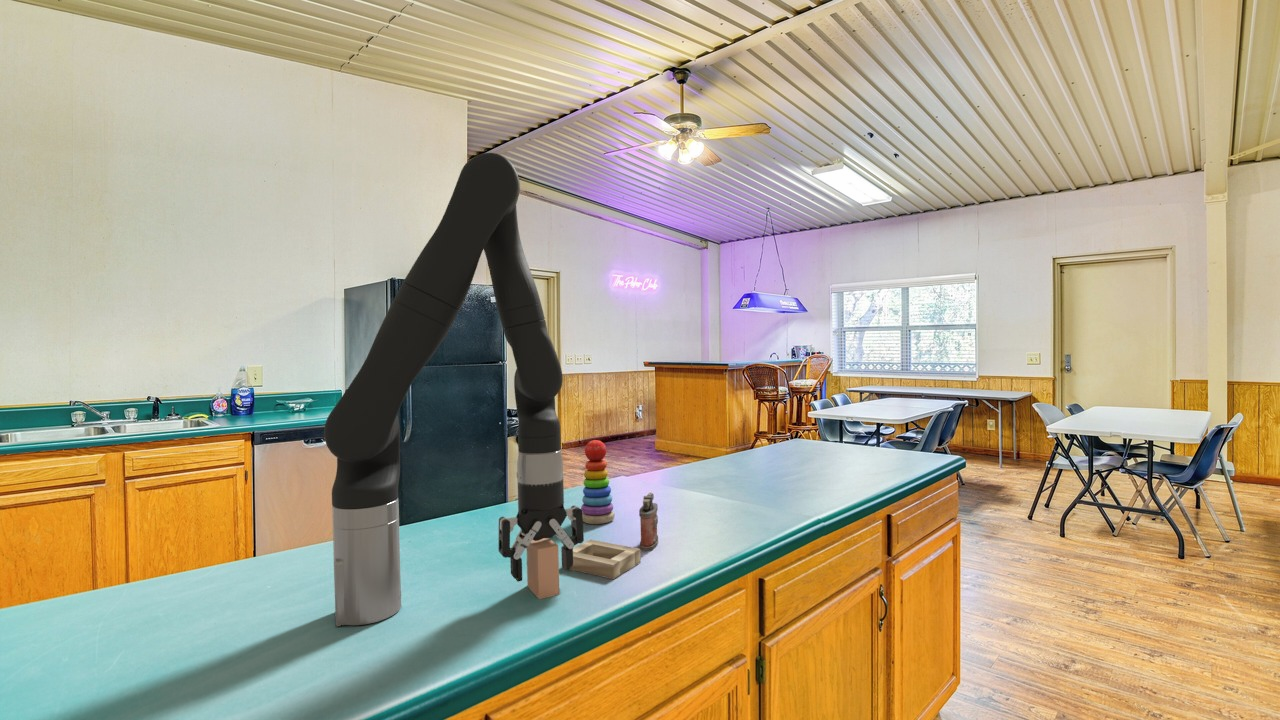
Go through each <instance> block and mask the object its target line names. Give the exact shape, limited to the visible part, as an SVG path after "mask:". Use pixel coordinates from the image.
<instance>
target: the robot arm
mask: <svg viewBox="0 0 1280 720" xmlns="http://www.w3.org/2000/svg"><path fill="white" fill-rule="evenodd" d="M457 178H458V179H457V182H456V183H455V187H454V189H453V191H452V194H451V197H450V199H449V202H448V204H447V206H446V209H445V211H444V213H443V216H442V218H441V220H440V222H439V224H438V225H437V226H436V229H435V231H434V232H433V234H432V235H431V237H430V238H429V240H428V241H427V242H426V244H425V246H424V247H423V249H422V250H421V252H420V253H419V255H418V256H417V258H416V260H415V261H414V263H413V265H412V266H411V268H410V270H409V271H408V273H407V275H406V277H405V278H404V280H403V282H402V283H401V285H400V287H399V288H398V291H397V292H396V295H395V297H394V298H393V300H392V302H391V303H390V306H389V309H388V311H387V312H386V315H385V317H384V319H383V320H382V323H381V325H380V327H379V329H378V331H377V333H376V336H375V338H374V340H373V343H372V345H371V347H370V350H369V352H368V354H367V356H366V358H365V360H364V361H363V364H362V366H361V367H360V369H359V370H358V373H357V374H356V375H355V377H353V380H352V381H351V383H350V384H349V386H348V387H347V388H346V390H345V392H344V393H343V394H342V396H341V397H340V399H339V400H338V402H337V403H336V405H334V407H333V409H332V410H331V411H330V413H329V414H328V417H327V418H326V421H325V424H324V432H323V433H324V435H323V436H324V441H325V444H326V446H327V447H326V448H328V451H330V453H331V454H332V455H333V456H334V457H336V463H337V464H336V474H335V478H334V482H333V485H332V488H331V506H332V508H331V509H332V537H333V538H332V541H333V542H332V543H333V552H332V553H333V581H334V583H333V585H334V612H335V613H334V615H335V619H334V620H335V627H341V625H342V626H361V625H369V624H373V623H377V622H381V621H384V620H386V619H389V618H390V617H392V616H394V615H395V614H397V613H398V612H399V611H400V610H401V608H402V582H401V581H402V580H401V578H402V577H401V575H402V574H401V549H400V548H401V546H400V545H401V544H400V543H401V542H400V514H399V513H400V512H399V511H400V509H399V506H400V505H399V483H400V477H401V476H400V475H401V440H400V439H401V436H400V435H401V432H400V421H399V416H398V414H399V411H400V409H401V407H402V404H403V402H404V401H405V398H406V395H407V393H408V391H409V390H410V387H411V386H412V384H413V382H414V381H415V380H416V378H417V377H418V375H419V374H420V372H421V371H422V370H423V368H424V367H425V366H426V365H427V363H428V362H429V361H430V359H431V358H432V357H433V355H435V353H436V351H437V350H438V349H439V347H440V346H441V345H442V343H443V341H444V340H445V338H446V336H447V335H448V333H449V331H450V330H451V327H453V324H454V322H455V320H456V318H457V317H458V314H459V312H460V310H461V308H462V306H463V305H464V301H465V300H466V298H467V296H468V292H469V290H470V288H471V285H472V282H473V279H474V277H475V274H476V270H477V268H478V265H479V261H480V259H481V256H482V253H483V251H484V254H485V258H486V262H487V266H488V269H489V274H490V279H491V283H492V290H493V294H494V295H493V296H494V299H495V304H496V308H497V311H498V316H499V320H500V323H501V327H502V331H503V334H504V337H505V339H506V342H507V344H508V345H509V346H510V349H511V351H512V355H513V358H514V362H515V366H516V369H515V372H514V375H513V386H514V387H513V388H514V390H513V391H514V399H515V407H516V412H517V419H518V420H517V421H518V426H517V447H518V453H517V454H518V456H517V464H516V465H517V466H516V468H517V469H516V479H517V508H518V512H517V514H516V516H515V517H506V516H500V517H499V519H498V552H499V554H500V555H501V556H502V557H503V558H510V574H511V577H512V578H513V579H515V581H516V582H517V583H518V582H521V581H523V558H522V555H523V554H524V552H525V550H527V547H528V546H529V544H530V543H531V541H532V540H534V541H538V540H541V539H543V538H548V539H549V538H550V539H553V538H554V537H555V536H556V537H557V538H558V540H559V541H560V542H561V543H562V546H560V547H561V548H560V549H561V569H562V570H563V571H565V572H570V571H571V569H570V567H572V565H573V548H574V547H576V546H577V545H578V544H582V543H584V540H585V539H584V536H585V535H584V522H583V516H582V510H581V507H579V506H576V505H572V506H571V507H569V508H565V505H564V504H565V498H564V497H565V496H564V495H565V492H564V461H563V455H562V454H563V453H562V435H561V434H562V433H561V430H562V429H561V423H560V420H559V418H558V416H557V412H556V396H557V395H558V394H559V393H560V391H561V389H562V386H563V381H564V378H563V371H562V367H561V363H560V361H559V357H558V355H557V351H556V350H555V349H556V348H555V347H554V344H553V342H552V339H551V338H550V335H549V332H548V328H547V322H546V318H545V313H544V310H543V306H542V303H541V302H542V301H541V299H540V295H539V292H538V288H537V286H536V281H535V279H534V277H533V274H532V272H531V268H530V266H529V263H528V260H527V258H526V254H525V252H524V249H523V245H522V240H521V236H520V235H521V234H520V231H519V224H518V214H517V213H518V212H517V211H518V210H517V203H518V199H519V196H520V191H521V183H520V178H519V175H518V172H517V169H516V168H515V166H514V165H513V163H512V162H511V160H509V159H508V158H507V157H505V156H503V155H502V154H499V153H495V152H483V153H480V154H477V155H475V156H474V157H472V158H470V159H469V160H468V161H467V162H465V164H464V165H463V167H462V168H461V171H460V172H459V176H458V177H457ZM566 518H567V519H568V520H569V521H570V524H571V535H570V536H569V535H568V534H567V532H566V531H565V530H564V529H563V527H562V525H563V523H564V522H565V519H566ZM515 526H518V527H519V528H520V530H519V532H518V534H517V535H516V536H515V540H514V543H513V544H512V546H511V533H512V532H513V531H514V529H515V528H514V527H515Z"/></svg>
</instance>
